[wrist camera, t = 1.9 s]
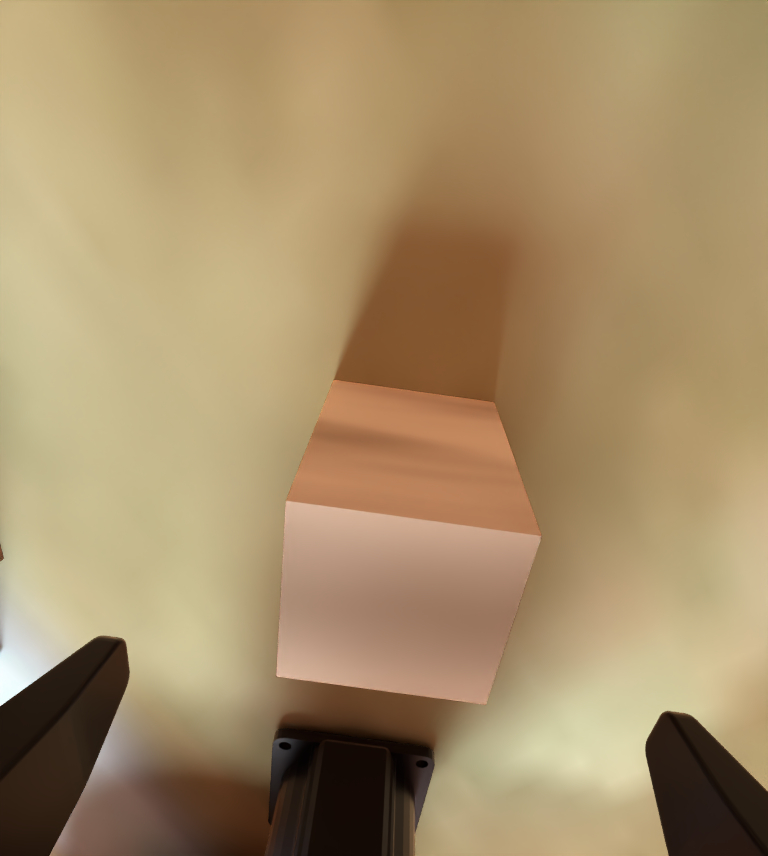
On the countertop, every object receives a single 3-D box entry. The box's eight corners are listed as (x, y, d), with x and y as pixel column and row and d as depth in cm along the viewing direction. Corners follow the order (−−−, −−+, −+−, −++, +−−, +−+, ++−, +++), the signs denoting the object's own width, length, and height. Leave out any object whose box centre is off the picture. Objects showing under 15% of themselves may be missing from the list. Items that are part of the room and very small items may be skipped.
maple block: (462, 531, 16) (485, 704, 11) (321, 511, 16) (276, 676, 11) (494, 401, 14) (541, 536, 9) (333, 379, 14) (286, 500, 9)
